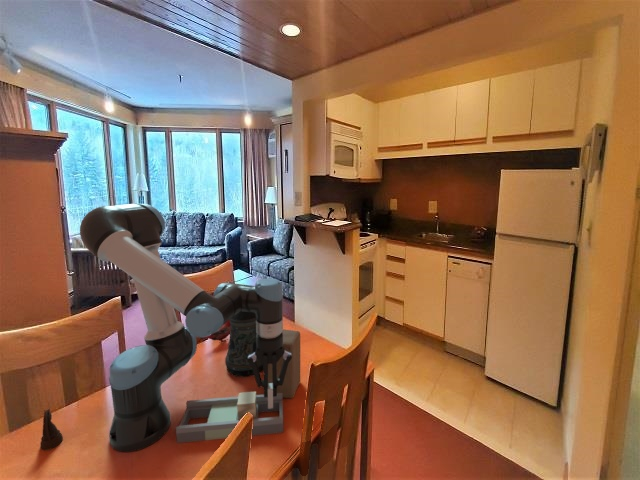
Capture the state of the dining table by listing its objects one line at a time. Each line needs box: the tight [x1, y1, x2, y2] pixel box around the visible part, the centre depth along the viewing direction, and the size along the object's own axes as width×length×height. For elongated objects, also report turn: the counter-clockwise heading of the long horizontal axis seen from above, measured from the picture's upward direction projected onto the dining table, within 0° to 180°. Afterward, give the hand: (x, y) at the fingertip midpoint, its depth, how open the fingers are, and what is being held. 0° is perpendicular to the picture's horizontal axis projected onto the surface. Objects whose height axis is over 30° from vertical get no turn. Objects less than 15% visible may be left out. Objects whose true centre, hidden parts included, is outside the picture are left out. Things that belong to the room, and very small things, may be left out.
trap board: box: [175, 393, 284, 444], centre depth 91 cm, size 29×11×4 cm, turn 98°
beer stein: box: [224, 311, 263, 378], centre depth 119 cm, size 16×19×25 cm
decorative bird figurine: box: [199, 320, 231, 344], centre depth 135 cm, size 3×18×10 cm, turn 139°
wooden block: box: [268, 328, 301, 399], centre depth 105 cm, size 10×10×20 cm
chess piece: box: [40, 407, 64, 451], centre depth 83 cm, size 5×5×10 cm
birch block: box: [237, 391, 257, 420], centre depth 91 cm, size 5×5×5 cm
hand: (270, 405), depth 93 cm, fingers closed
